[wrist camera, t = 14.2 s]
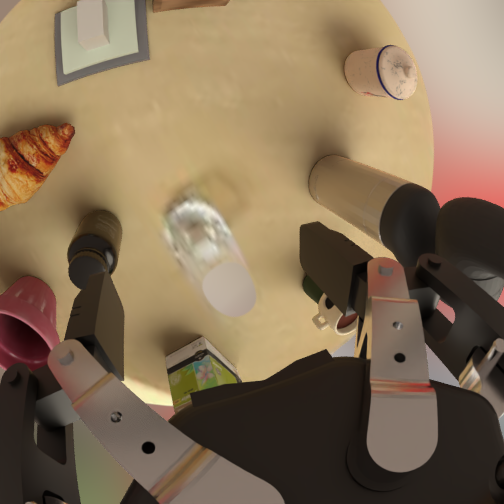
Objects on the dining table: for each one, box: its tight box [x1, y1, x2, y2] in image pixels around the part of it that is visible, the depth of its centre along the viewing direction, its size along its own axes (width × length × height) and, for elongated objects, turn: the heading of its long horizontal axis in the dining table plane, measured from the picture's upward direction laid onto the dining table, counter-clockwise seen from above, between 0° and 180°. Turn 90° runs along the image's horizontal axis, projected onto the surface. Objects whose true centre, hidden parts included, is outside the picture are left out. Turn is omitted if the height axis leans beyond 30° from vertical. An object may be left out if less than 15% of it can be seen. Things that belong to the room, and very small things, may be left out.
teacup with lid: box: [344, 45, 417, 100], centre depth 34 cm, size 12×9×12 cm
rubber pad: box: [55, 0, 150, 86], centre depth 24 cm, size 13×12×1 cm
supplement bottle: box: [67, 210, 122, 290], centre depth 32 cm, size 7×7×12 cm
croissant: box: [0, 123, 75, 211], centre depth 26 cm, size 21×10×8 cm, turn 110°
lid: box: [61, 0, 139, 75], centre depth 20 cm, size 10×10×7 cm
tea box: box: [165, 337, 242, 414], centre depth 50 cm, size 15×10×15 cm
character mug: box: [303, 275, 358, 335], centre depth 50 cm, size 11×7×13 cm, turn 113°
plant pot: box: [0, 276, 60, 371], centre depth 32 cm, size 14×14×13 cm
